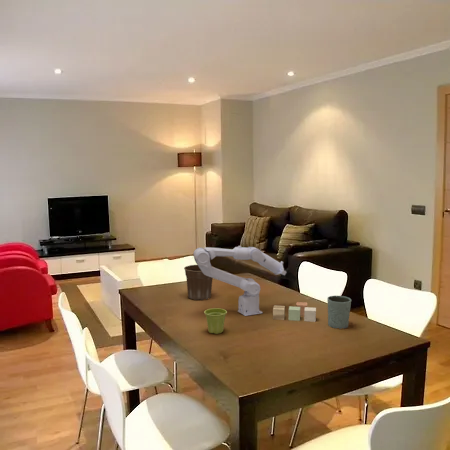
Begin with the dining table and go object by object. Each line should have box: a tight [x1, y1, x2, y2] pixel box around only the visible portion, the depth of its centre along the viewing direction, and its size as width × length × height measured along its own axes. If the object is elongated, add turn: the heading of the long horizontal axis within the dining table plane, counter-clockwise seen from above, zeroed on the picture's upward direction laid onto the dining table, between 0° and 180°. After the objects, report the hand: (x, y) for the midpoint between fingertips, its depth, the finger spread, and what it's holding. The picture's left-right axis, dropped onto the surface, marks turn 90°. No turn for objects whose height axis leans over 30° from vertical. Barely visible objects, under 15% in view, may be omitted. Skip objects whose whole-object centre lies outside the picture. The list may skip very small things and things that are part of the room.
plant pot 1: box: [184, 264, 216, 301], centre depth 244 cm, size 16×16×16 cm
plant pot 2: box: [203, 307, 228, 335], centre depth 193 cm, size 9×9×9 cm
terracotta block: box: [295, 301, 308, 317], centre depth 216 cm, size 5×5×5 cm
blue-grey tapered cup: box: [326, 295, 352, 330], centre depth 199 cm, size 10×10×12 cm
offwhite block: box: [303, 306, 317, 323], centre depth 208 cm, size 5×5×5 cm
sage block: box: [288, 306, 301, 322], centre depth 209 cm, size 5×5×5 cm
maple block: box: [272, 305, 286, 321], centre depth 211 cm, size 5×5×5 cm
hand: (292, 277), depth 221 cm, fingers open, 7 cm apart
